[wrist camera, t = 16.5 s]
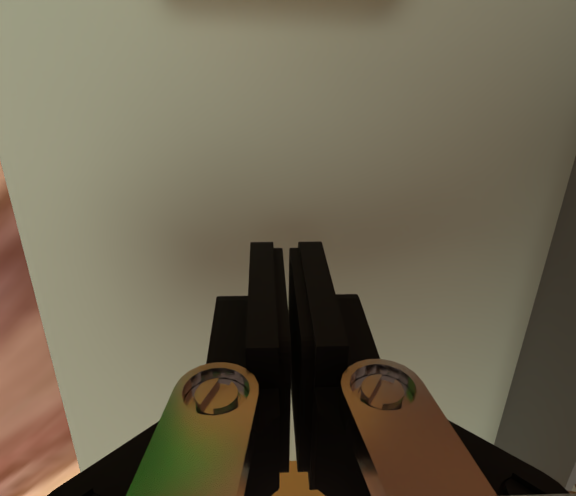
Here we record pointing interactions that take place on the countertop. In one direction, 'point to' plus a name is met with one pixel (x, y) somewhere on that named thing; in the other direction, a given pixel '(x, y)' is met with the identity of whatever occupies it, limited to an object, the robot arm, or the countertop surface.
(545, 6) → the deck plate
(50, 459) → the countertop surface
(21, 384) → the countertop surface
